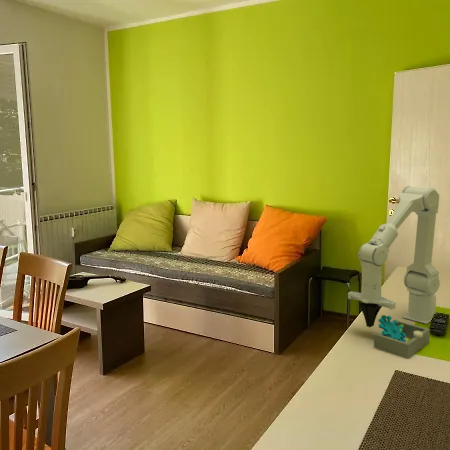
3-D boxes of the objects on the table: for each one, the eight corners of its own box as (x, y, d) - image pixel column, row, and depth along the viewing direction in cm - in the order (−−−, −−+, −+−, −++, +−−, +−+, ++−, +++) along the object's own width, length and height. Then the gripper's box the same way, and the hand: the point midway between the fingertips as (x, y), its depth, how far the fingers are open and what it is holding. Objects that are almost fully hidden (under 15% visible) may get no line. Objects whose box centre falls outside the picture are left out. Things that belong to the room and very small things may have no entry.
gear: (395, 347, 126) (375, 316, 131) (380, 356, 130) (361, 325, 135) (415, 341, 133) (396, 311, 138) (400, 350, 137) (382, 320, 142)
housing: (396, 332, 140) (397, 316, 139) (431, 342, 132) (432, 326, 131) (373, 347, 130) (374, 330, 129) (410, 359, 123) (411, 341, 122)
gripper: (343, 281, 138) (342, 323, 141) (388, 291, 128) (386, 336, 130) (355, 276, 143) (353, 316, 145) (399, 285, 133) (397, 329, 135)
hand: (370, 325), depth 138 cm, fingers closed
